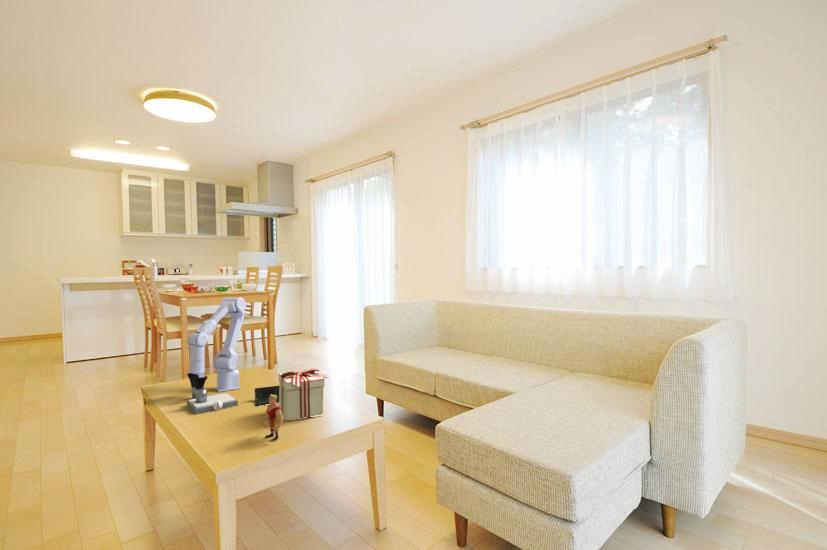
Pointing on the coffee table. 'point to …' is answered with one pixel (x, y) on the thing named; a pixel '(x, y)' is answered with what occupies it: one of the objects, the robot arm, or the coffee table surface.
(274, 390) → the handheld gaming console
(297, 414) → the gift box
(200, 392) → the cylinder
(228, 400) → the white grey-edged panel
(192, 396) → the cylinder
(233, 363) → the robot arm
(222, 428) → the coffee table surface
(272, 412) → the action figure
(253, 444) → the coffee table surface
